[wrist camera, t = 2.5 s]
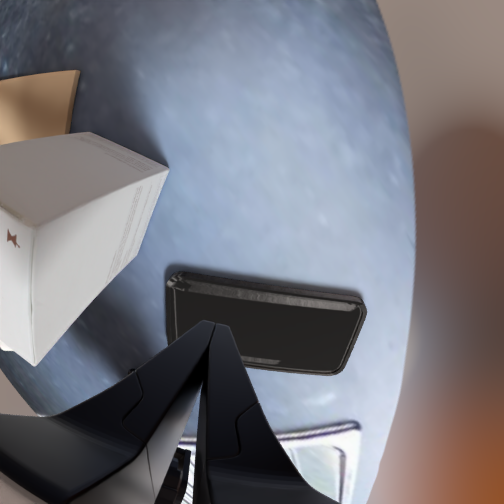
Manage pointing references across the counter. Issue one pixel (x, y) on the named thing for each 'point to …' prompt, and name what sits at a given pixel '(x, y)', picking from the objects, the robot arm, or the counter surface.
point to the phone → (269, 321)
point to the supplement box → (66, 230)
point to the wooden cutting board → (37, 105)
